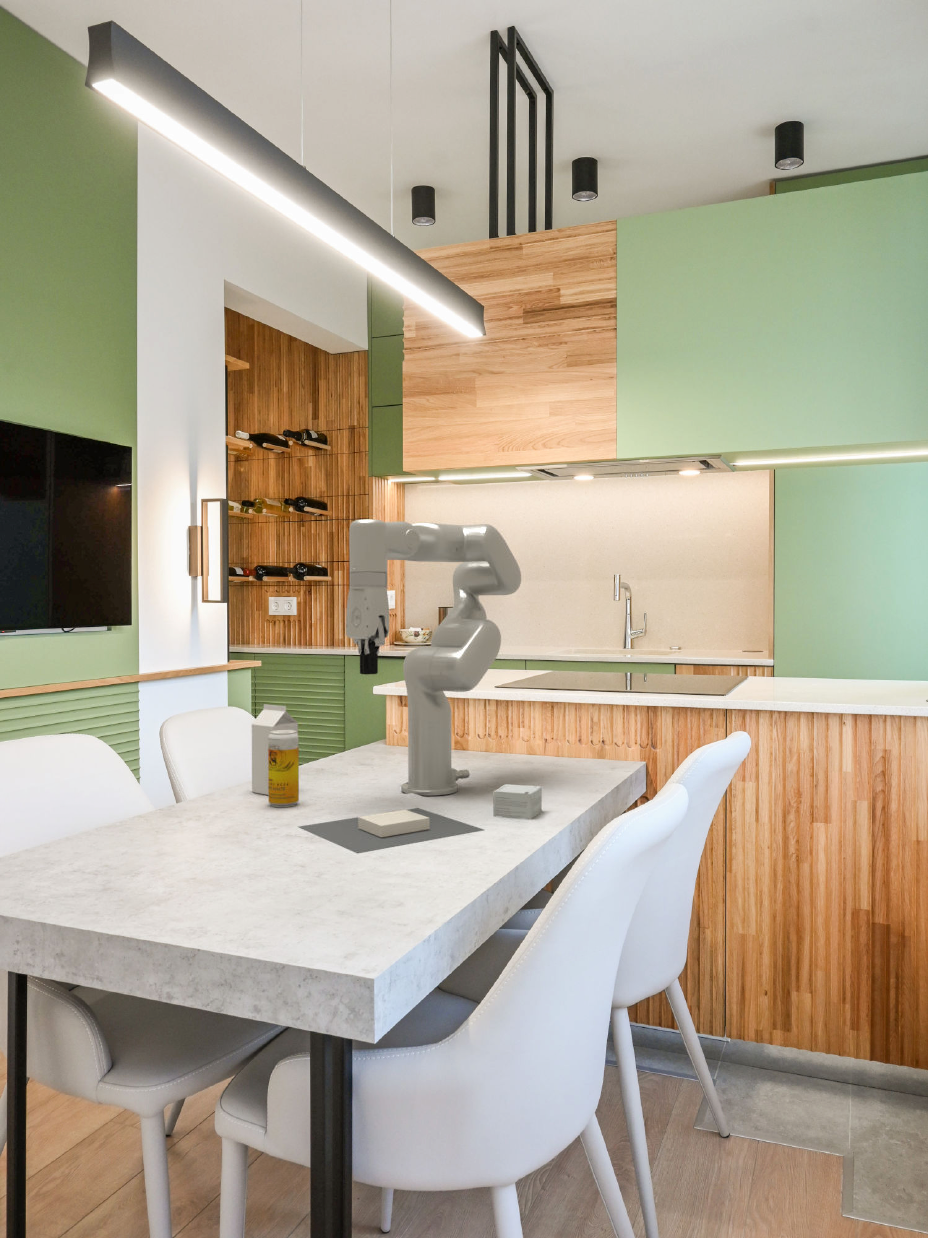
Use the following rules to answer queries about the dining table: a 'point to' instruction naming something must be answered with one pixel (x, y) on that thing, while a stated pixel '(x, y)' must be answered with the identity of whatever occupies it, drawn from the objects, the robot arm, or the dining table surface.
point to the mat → (363, 841)
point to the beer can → (283, 768)
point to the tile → (393, 823)
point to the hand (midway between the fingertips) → (368, 673)
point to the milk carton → (266, 742)
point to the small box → (517, 801)
